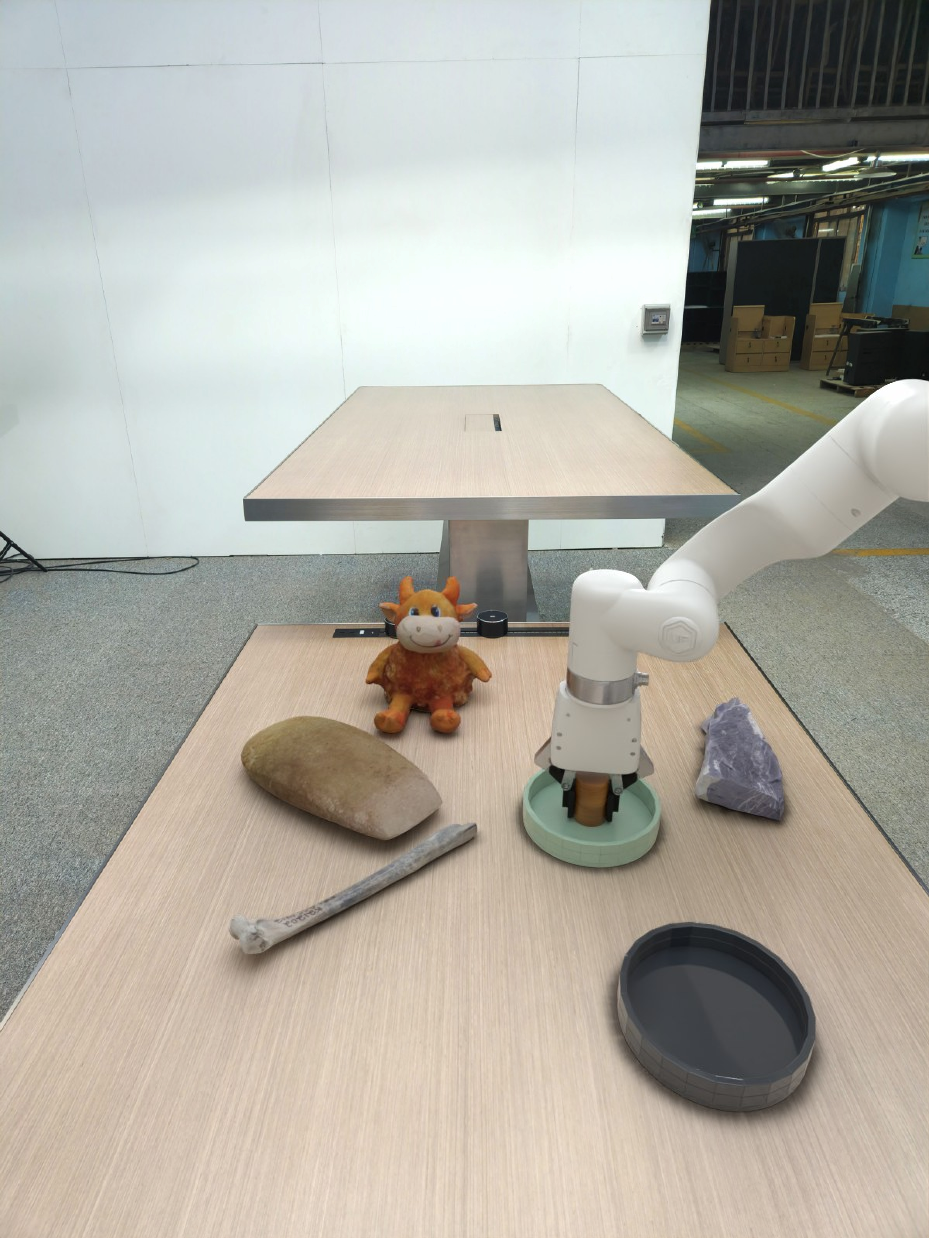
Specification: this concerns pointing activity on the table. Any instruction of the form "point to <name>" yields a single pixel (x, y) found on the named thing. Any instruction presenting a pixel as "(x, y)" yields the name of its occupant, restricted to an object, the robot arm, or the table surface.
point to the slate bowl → (715, 1016)
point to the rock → (739, 764)
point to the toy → (426, 658)
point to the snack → (591, 798)
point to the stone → (340, 775)
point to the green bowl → (591, 845)
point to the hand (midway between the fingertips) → (589, 811)
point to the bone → (346, 893)
